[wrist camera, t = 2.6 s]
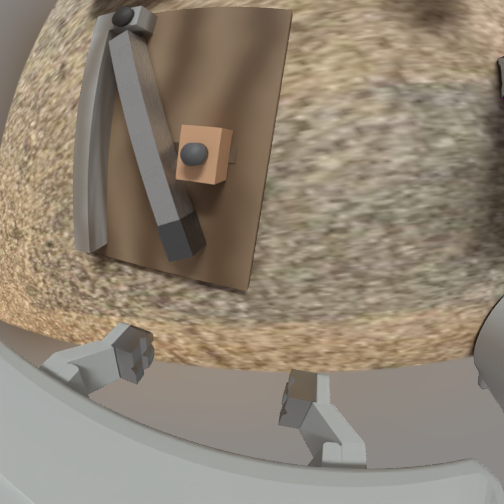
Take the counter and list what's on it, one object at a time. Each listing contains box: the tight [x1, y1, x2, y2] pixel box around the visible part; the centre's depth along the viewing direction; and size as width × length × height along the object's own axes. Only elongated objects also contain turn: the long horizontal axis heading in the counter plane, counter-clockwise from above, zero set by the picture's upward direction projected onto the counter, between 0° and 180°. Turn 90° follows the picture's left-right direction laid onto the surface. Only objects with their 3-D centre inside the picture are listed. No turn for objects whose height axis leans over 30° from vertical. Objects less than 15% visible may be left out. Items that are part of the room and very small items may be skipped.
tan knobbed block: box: [176, 125, 233, 185], centre depth 20 cm, size 3×4×4 cm
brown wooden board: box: [73, 6, 292, 291], centre depth 21 cm, size 19×25×5 cm
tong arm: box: [109, 30, 206, 262], centre depth 20 cm, size 2×20×3 cm, turn 16°
